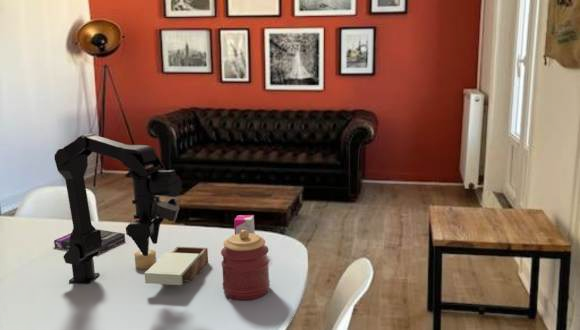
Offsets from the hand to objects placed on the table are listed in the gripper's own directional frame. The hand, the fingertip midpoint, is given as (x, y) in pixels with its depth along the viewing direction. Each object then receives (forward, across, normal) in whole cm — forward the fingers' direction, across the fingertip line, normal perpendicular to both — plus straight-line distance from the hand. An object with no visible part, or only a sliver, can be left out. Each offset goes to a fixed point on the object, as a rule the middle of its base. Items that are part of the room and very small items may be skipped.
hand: (150, 249), depth 149 cm
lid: (+10, +7, -4) cm, 13 cm away
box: (+13, +40, +33) cm, 54 cm away
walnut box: (+13, +15, -5) cm, 21 cm away
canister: (+14, +1, -25) cm, 29 cm away
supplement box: (+13, +32, -22) cm, 41 cm away
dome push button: (+13, +20, +8) cm, 25 cm away
